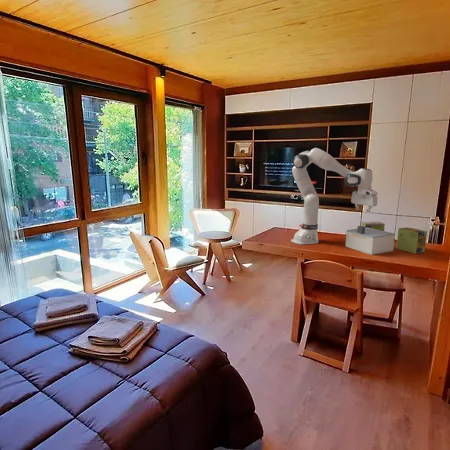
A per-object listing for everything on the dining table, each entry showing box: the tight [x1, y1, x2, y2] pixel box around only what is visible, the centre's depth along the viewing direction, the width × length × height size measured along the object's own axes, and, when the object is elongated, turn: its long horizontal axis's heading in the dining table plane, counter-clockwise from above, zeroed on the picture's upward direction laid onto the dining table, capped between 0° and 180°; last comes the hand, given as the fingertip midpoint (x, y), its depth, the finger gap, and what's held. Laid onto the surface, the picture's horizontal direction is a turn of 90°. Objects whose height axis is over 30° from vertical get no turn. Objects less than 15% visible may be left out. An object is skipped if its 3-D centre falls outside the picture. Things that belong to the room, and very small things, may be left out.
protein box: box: [395, 226, 428, 254], centre depth 236 cm, size 10×15×16 cm
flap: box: [346, 225, 396, 238], centre depth 238 cm, size 22×24×6 cm
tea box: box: [361, 220, 385, 231], centre depth 266 cm, size 15×10×15 cm
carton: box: [345, 230, 396, 256], centre depth 240 cm, size 22×24×12 cm
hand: (362, 211), depth 231 cm, fingers open, 8 cm apart
